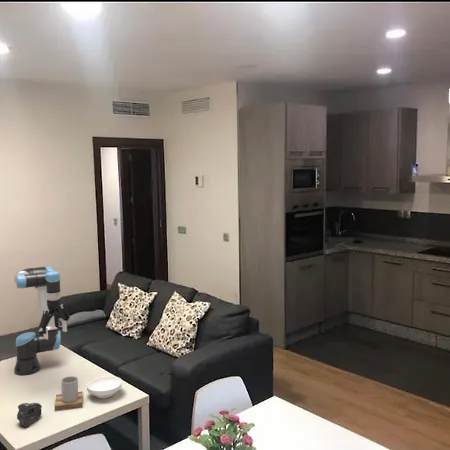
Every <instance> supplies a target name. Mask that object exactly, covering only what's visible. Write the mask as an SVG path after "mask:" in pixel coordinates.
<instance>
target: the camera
mask: <svg viewBox="0 0 450 450" xmlns="http://www.w3.org/2000/svg"><path fill="white" fill-rule="evenodd" d="M17 408H18V411H17V414H16V419H17V420H18V421H19V426H20V427H23V428H28V427H29V426H30V425H32V424H34V423H35V422H36V421H38V420H39V419H40V418H41V416H42V405H41V404H40V403H38V402H29V403H28V402H23V403H20V404H18V405H17Z"/></svg>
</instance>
